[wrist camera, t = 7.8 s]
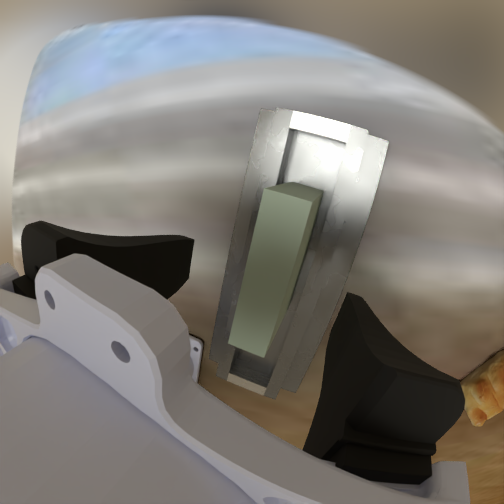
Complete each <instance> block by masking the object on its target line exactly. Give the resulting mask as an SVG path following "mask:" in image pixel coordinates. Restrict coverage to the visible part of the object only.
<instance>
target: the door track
mask: <svg viewBox="0 0 504 504" xmlns="http://www.w3.org/2000/svg"><path fill="white" fill-rule="evenodd" d="M368 131H369V130H365V129H362V128H359V127H356V126H352V125H349V124H345V123H342V122H338V121H335V120H331V119H327V118H323V117H319V116H315V115H310V114H306V113H302V112H297V111H292V110H287V109H282V108H277V107H276V110H275V111H272V110H267V109H261V110H260V114H259V118H258V122H257V127H256V131H255V135H254V140H253V144H252V148H251V153H250V157H249V162H248V166H247V171H246V175H245V180H244V184H243V189H242V193H241V198H240V203H239V207H238V212H237V217H236V221H235V226H234V231H233V236H232V241H231V246H230V250H229V255H228V260H227V265H226V270H225V275H224V280H223V285H222V291H221V296H220V301H219V306H218V311H217V317H216V322H215V327H214V333H213V338H212V344H211V349H210V355H209V359H210V360H212V361H215V362H217V363H219V364H218V368H217V373H216V376H217V377H220V378H222V379H224V380H227V381H229V382H231V383H234V384H236V385H238V386H241V387H243V388H246V389H248V390H251V391H253V392H256V393H258V394H261V395H264V396H266V397H269V398H272V399H276V397H277V394H278V392H279V390H280V388H282V389H285V390H288V391H291V392H294V393H296V391H297V389H298V387H299V385H300V383H301V381H302V379H303V377H304V375H305V373H306V371H307V369H308V367H309V365H310V363H311V361H312V359H313V357H314V354H315V352H316V350H317V348H318V346H319V344H320V342H321V339H322V337H323V335H324V333H325V330H326V328H327V326H328V324H329V321H330V319H331V317H332V314H333V312H334V309H335V307H336V305H337V302H338V300H339V297H340V295H341V292H342V290H343V287H344V285H345V282H346V280H347V277H348V274H349V272H350V269H351V266H352V263H353V261H354V258H355V255H356V252H357V250H358V247H359V244H360V241H361V238H362V235H363V232H364V229H365V226H366V223H367V220H368V216H369V213H370V210H371V207H372V203H373V200H374V197H375V193H376V190H377V186H378V183H379V179H380V175H381V172H382V168H383V164H384V160H385V156H386V152H387V148H388V143H389V141H386V140H383V139H380V138H377V137H374V136H371V135H368ZM288 182H296V183H299V184H303V185H306V186H310V187H313V188H316V189H320V190H323V191H324V194H323V197H322V201H321V205H320V208H319V212H318V215H317V219H316V222H315V226H314V229H313V232H312V236H311V239H310V243H309V246H308V249H307V252H306V256H305V259H304V262H303V265H302V269H301V272H300V275H299V278H298V281H297V284H296V287H295V290H294V293H293V296H292V299H291V302H290V305H289V307H288V310H287V312H286V314H285V316H284V318H283V320H282V322H281V324H280V326H279V329H278V331H277V333H276V335H275V337H274V339H273V341H272V343H271V345H270V347H269V349H268V351H267V353H266V355H265V357H264V358H263V357H260V356H258V355H255V354H253V353H250V352H248V351H245V350H243V349H240V348H238V347H235V346H233V345H230V344H228V341H229V337H230V333H231V328H232V324H233V320H234V315H235V311H236V307H237V302H238V298H239V294H240V289H241V285H242V281H243V276H244V272H245V268H246V263H247V259H248V255H249V251H250V246H251V242H252V238H253V233H254V229H255V225H256V221H257V216H258V212H259V208H260V203H261V199H262V195H263V191H264V188H267V187H271V186H275V185H280V184H284V183H288Z"/></svg>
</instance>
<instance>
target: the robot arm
mask: <svg viewBox="0 0 504 504" xmlns="http://www.w3.org/2000/svg"><path fill="white" fill-rule="evenodd" d="M193 245H194V239H191V238H188V237H185V236H181V235H154V236H107V235H98V234H91V233H84V232H79V231H75V230H70V229H67V228H63V227H60V226H57V225H53V224H50V223H47V222H45V221H38V222H34V223H31V224H28V225H26V226H25V228H24V230H23V233H22V238H21V247H22V257H23V264H24V271H25V275H23V276H21V277H20V276H19V274H18V272H17V271H16V270H15V269H14V268H13V267H12V266H11V265H10V264H9V263H8V262H7V263H5V264H2V265H0V504H470V495H469V485H468V476H467V469H466V462H454V461H441V462H437V463H434V464H431V456H433V455H434V454H435V453H436V442H437V441H438V440H439V439H440V438H441V437H442V436H443V435H444V434H445V433H446V432H447V431H448V430H449V429H450V428H451V427H452V426H453V425H454V424H455V422H456V421H457V420H458V419H459V417H460V416H461V414H462V412H463V410H464V408H465V396H464V393H463V390H462V387H461V384H460V381H459V380H458V379H456V378H454V377H451V376H449V375H447V374H445V373H443V372H441V371H439V370H437V369H435V368H434V367H432V366H430V365H429V364H427V363H425V362H424V361H422V360H421V359H420V358H418V357H417V356H415V355H414V354H413V353H412V352H410V351H409V350H408V349H406V348H405V347H404V346H403V345H402V344H401V343H400V342H399V341H398V340H397V339H395V338H394V337H393V336H392V335H391V333H390V332H389V331H388V330H387V329H386V328H385V327H384V325H383V324H382V323H381V322H380V321H379V319H378V318H377V317H376V315H375V314H374V313H373V311H372V310H371V309H370V307H369V306H368V304H367V303H366V302H365V301H364V299H363V298H362V297H361V296H358V295H355V294H352V293H349V292H347V295H346V297H345V300H344V302H343V304H342V307H341V309H340V311H339V314H338V316H337V318H336V321H335V323H334V325H333V327H332V330H331V332H330V336H329V340H328V344H327V348H326V356H325V365H324V373H323V381H322V388H321V393H320V398H319V402H318V405H317V409H316V412H315V415H314V418H313V422H312V425H311V428H310V431H309V434H308V436H307V439H306V442H305V445H304V447H303V450H301V449H299V448H297V447H295V446H293V445H291V444H289V443H288V442H286V441H284V440H282V439H281V438H279V437H277V436H275V435H274V434H272V433H270V432H269V431H267V430H265V429H264V428H262V427H260V426H259V425H257V424H255V423H254V422H252V421H251V420H249V419H248V418H246V417H244V416H243V415H241V414H240V413H238V412H237V411H235V410H234V409H232V408H231V407H229V406H228V405H226V404H225V403H224V402H222V401H221V400H219V399H218V398H216V397H215V396H214V395H212V394H211V393H210V392H208V391H207V390H205V389H204V388H203V387H201V386H200V385H199V384H197V383H198V376H199V370H200V363H201V357H202V350H203V343H202V341H201V340H199V339H197V338H195V337H193V336H191V335H189V332H188V327H187V325H186V323H185V322H184V320H183V319H182V317H181V316H180V314H179V313H178V311H177V309H176V308H175V306H174V305H173V304H172V303H171V302H169V301H168V300H167V299H168V298H170V297H171V296H172V295H173V294H175V293H176V292H177V291H178V290H179V289H180V288H181V287H182V286H183V284H184V283H185V282H186V281H187V280H188V279H189V273H190V266H191V259H192V252H193ZM197 348H198V349H197Z"/></svg>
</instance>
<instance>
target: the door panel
mask: <svg viewBox="0 0 504 504" xmlns="http://www.w3.org/2000/svg"><path fill="white" fill-rule="evenodd" d="M323 194H324V191H323V190H320V189H316V188H313V187H310V186H306V185H303V184H299V183H296V182H288V183H284V184H280V185H275V186H271V187H267V188H264V191H263V195H262V199H261V203H260V208H259V212H258V216H257V221H256V225H255V229H254V233H253V238H252V242H251V246H250V251H249V255H248V259H247V263H246V268H245V272H244V276H243V281H242V285H241V289H240V294H239V298H238V302H237V307H236V311H235V315H234V320H233V324H232V328H231V333H230V337H229V341H228V344H230V345H233V346H235V347H238V348H240V349H243V350H245V351H248V352H250V353H253V354H255V355H258V356H260V357H263V358H264V357H265V355H266V353H267V351H268V349H269V347H270V345H271V343H272V341H273V339H274V337H275V335H276V333H277V331H278V329H279V326H280V324H281V322H282V320H283V318H284V316H285V314H286V312H287V310H288V307H289V305H290V302H291V299H292V296H293V293H294V290H295V287H296V284H297V281H298V278H299V275H300V272H301V269H302V265H303V262H304V259H305V256H306V252H307V249H308V246H309V243H310V239H311V236H312V232H313V229H314V226H315V222H316V219H317V215H318V212H319V208H320V205H321V201H322V197H323Z"/></svg>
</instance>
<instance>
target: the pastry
mask: <svg viewBox="0 0 504 504" xmlns="http://www.w3.org/2000/svg"><path fill="white" fill-rule="evenodd" d="M460 384H461V387H462V390H463V393H464V396H465V410H466V412H467V414H468V416H469V418H470V420H471V422H472V424H473V425H474V426H482V425H483V424H484V422H485V421H486V420H488V419H490V418H492V417H493V416H494V415H496V414H498V413H500V412H501V411H502V410H503V409H504V350H501V351H499V352H497V353H496V354H495V356H494V357H493V358H491V359H489V360H488V361H487V362H485V363H484V364H483V365H481V366H480V367H478V368H477V369H476V370H474V371H473V372H472V373H470V374H469V375H468V376H466V377H465V378H464V379H463V380H462V381H461V382H460Z"/></svg>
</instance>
